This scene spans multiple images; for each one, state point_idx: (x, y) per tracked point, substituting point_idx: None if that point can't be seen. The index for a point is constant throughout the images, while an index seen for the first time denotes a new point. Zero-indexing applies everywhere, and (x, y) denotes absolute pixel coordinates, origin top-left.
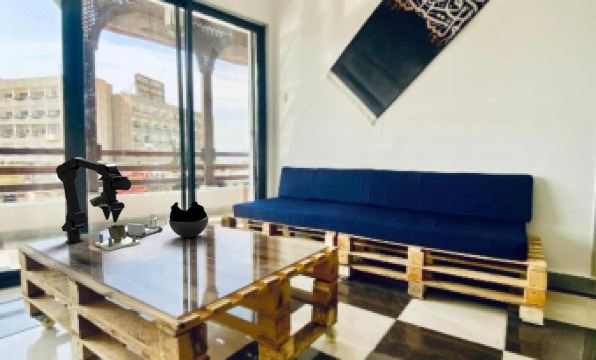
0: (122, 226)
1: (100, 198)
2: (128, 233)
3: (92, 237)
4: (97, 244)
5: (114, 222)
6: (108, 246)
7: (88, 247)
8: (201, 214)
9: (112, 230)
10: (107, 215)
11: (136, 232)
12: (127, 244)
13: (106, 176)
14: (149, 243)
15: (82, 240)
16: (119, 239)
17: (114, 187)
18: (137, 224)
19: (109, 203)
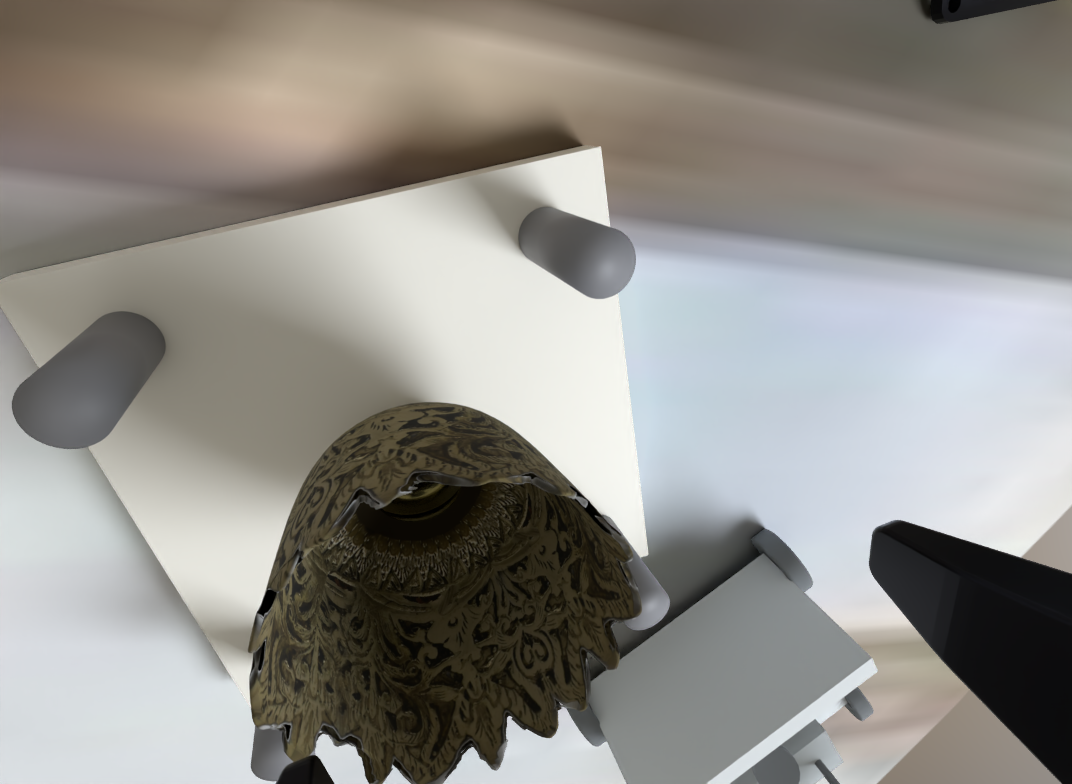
0: (535, 696)
1: None
2: (767, 567)
3: (1008, 176)
4: (512, 164)
5: (289, 778)
6: (139, 308)
7: (496, 2)
8: None
9: (291, 537)
10: (1004, 661)
11: (676, 662)
12: (169, 571)
13: None
14: (191, 770)
15: (940, 1)
16: (362, 504)
17: None
18: (733, 771)
19: None
